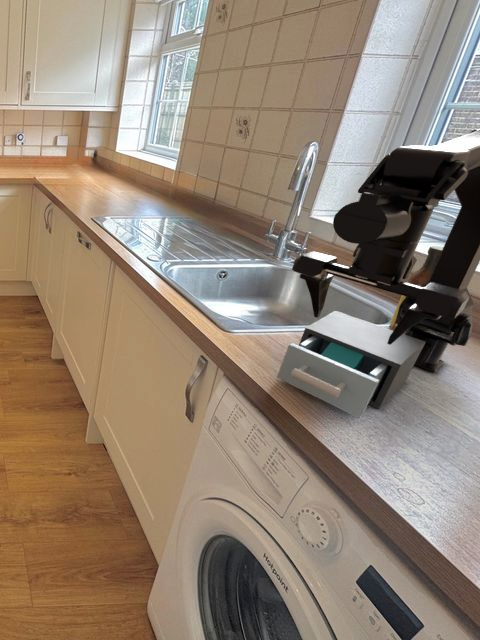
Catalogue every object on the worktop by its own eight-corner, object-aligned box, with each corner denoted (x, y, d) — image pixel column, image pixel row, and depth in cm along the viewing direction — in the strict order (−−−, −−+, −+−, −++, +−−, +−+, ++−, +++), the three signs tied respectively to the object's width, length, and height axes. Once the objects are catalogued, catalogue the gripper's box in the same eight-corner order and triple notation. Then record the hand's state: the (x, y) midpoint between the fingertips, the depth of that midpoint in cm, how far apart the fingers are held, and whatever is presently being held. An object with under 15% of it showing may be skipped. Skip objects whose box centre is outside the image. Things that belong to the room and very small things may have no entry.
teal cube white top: (328, 357, 73) (331, 341, 70) (359, 370, 69) (364, 354, 67) (315, 373, 71) (317, 358, 69) (346, 388, 68) (350, 372, 66)
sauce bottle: (435, 344, 86) (481, 256, 79) (400, 340, 87) (443, 253, 80) (410, 328, 92) (451, 245, 85) (378, 325, 93) (416, 242, 86)
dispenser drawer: (349, 428, 61) (366, 391, 58) (265, 385, 70) (277, 351, 67) (386, 392, 69) (403, 358, 67) (307, 357, 78) (319, 326, 76)
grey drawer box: (378, 409, 66) (400, 364, 63) (290, 367, 76) (305, 327, 73) (404, 382, 73) (425, 341, 70) (320, 347, 83) (335, 310, 80)
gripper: (500, 248, 56) (448, 344, 62) (334, 215, 71) (304, 295, 77) (483, 261, 51) (428, 366, 56) (306, 222, 65) (276, 309, 71)
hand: (351, 329), depth 65 cm, fingers open, 9 cm apart
